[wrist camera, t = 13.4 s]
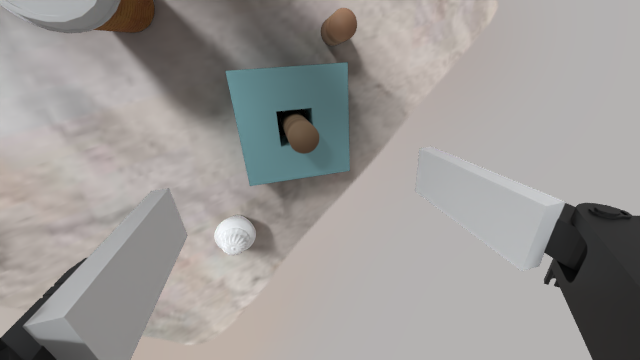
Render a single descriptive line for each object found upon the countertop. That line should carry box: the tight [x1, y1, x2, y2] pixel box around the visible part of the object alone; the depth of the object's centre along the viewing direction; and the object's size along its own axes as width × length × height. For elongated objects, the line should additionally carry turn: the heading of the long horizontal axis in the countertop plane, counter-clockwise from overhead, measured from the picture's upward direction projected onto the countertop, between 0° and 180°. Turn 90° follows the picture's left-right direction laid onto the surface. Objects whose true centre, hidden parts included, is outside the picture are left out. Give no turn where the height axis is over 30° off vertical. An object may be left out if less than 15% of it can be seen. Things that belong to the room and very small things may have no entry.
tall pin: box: [281, 110, 319, 154], centre depth 30 cm, size 3×3×12 cm
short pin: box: [321, 8, 357, 46], centre depth 30 cm, size 3×3×5 cm
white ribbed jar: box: [214, 215, 256, 255], centre depth 37 cm, size 6×6×7 cm
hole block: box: [226, 62, 350, 186], centre depth 32 cm, size 14×14×6 cm
